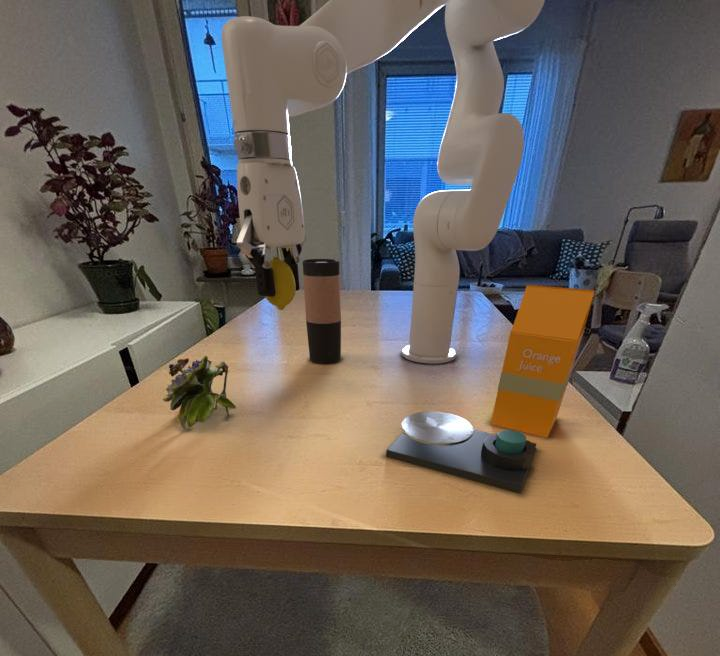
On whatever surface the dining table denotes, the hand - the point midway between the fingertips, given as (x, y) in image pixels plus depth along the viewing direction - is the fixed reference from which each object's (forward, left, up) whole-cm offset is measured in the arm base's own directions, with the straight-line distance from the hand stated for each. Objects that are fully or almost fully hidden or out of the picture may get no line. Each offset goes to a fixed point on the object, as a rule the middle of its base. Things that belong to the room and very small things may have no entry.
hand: (279, 291), depth 66 cm
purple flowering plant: (+16, -5, -17) cm, 24 cm away
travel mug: (-19, -4, -17) cm, 26 cm away
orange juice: (-7, +42, -17) cm, 46 cm away
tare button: (+8, +42, -14) cm, 45 cm away
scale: (+8, +36, -17) cm, 41 cm away
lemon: (0, 0, -3) cm, 3 cm away
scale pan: (+8, +32, -14) cm, 36 cm away
